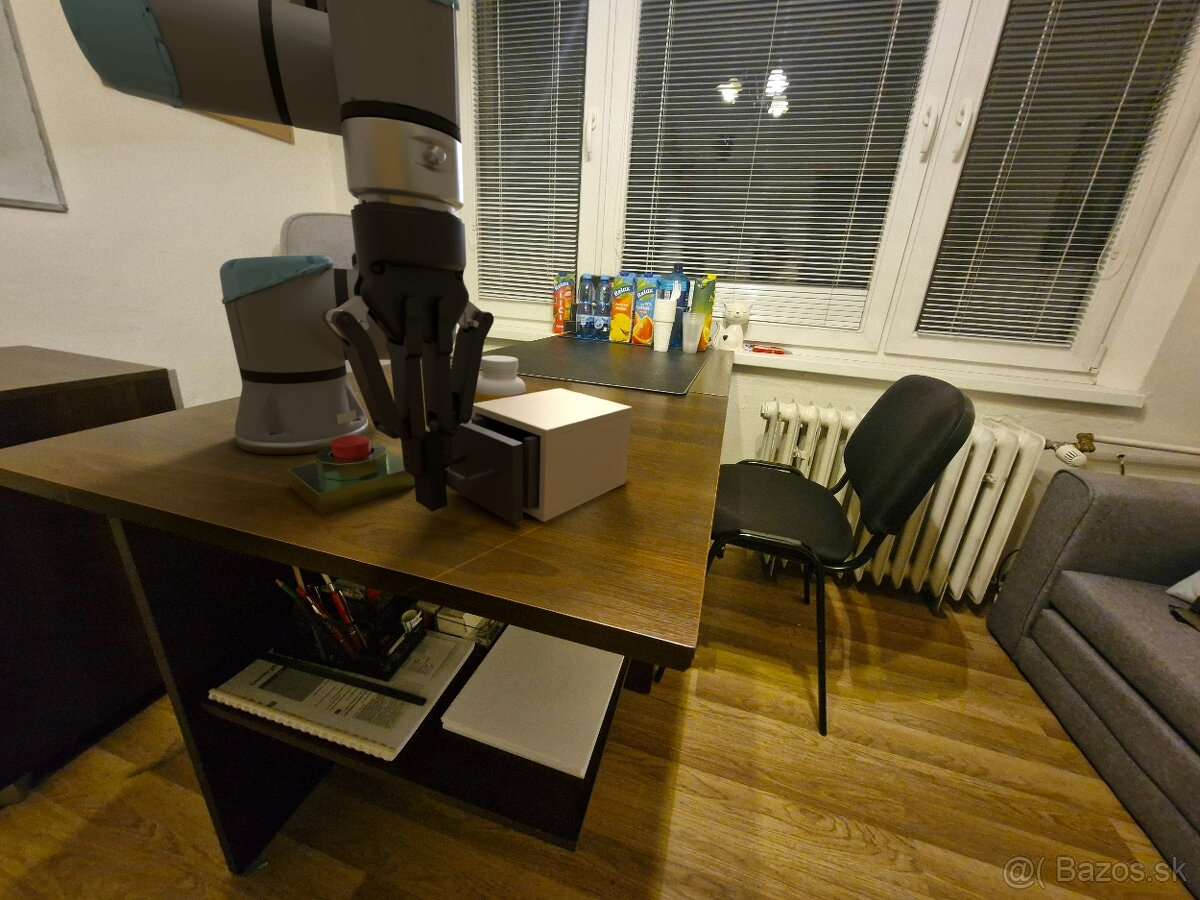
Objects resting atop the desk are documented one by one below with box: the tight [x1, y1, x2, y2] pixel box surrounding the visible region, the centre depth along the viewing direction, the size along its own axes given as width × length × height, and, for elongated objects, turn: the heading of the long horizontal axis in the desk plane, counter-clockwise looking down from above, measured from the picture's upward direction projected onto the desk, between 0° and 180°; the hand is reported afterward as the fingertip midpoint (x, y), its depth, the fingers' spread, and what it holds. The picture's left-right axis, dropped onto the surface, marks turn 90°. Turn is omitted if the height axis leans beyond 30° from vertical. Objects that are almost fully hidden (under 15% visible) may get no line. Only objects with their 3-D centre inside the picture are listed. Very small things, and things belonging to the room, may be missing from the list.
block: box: [287, 441, 415, 515], centre depth 47 cm, size 8×10×4 cm
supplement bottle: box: [474, 355, 527, 403], centre depth 58 cm, size 7×7×13 cm
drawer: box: [445, 416, 541, 525], centre depth 45 cm, size 17×10×8 cm, turn 141°
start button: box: [331, 435, 372, 460], centre depth 46 cm, size 4×4×2 cm
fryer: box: [471, 387, 633, 523], centre depth 50 cm, size 14×12×10 cm
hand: (431, 503), depth 39 cm, fingers closed
